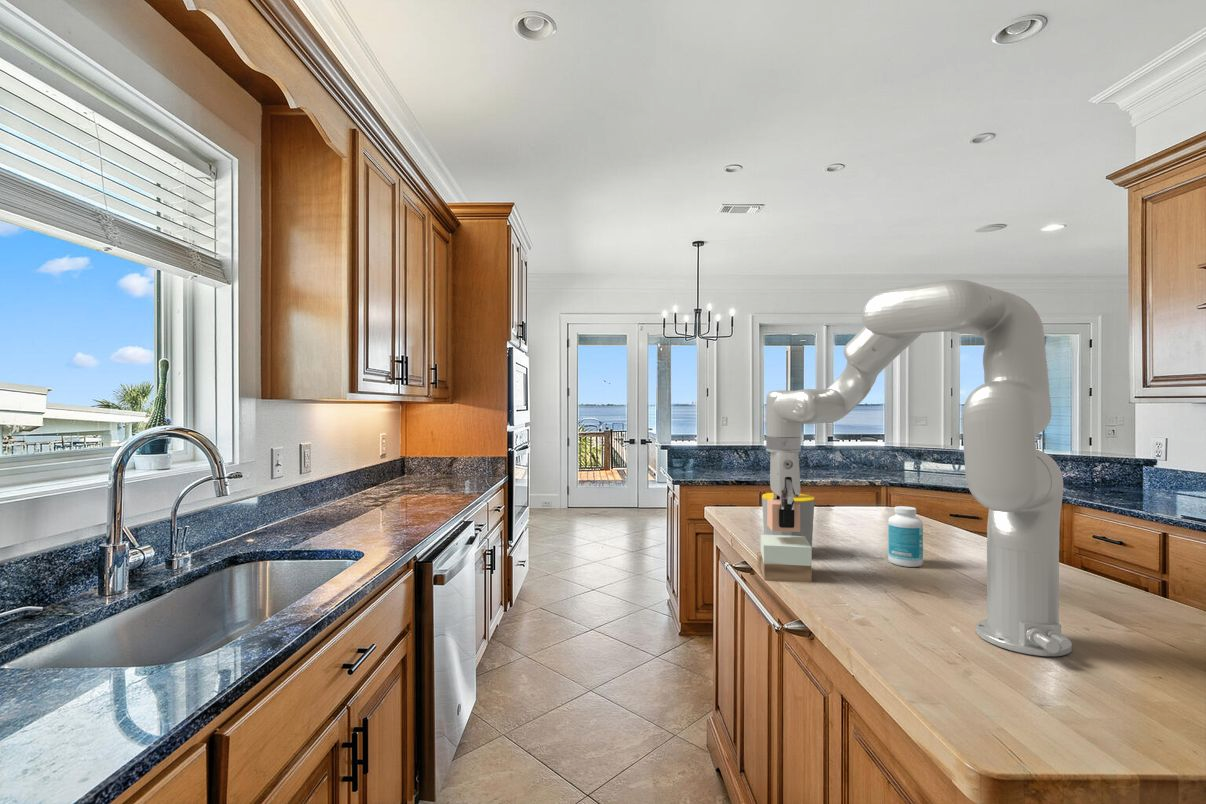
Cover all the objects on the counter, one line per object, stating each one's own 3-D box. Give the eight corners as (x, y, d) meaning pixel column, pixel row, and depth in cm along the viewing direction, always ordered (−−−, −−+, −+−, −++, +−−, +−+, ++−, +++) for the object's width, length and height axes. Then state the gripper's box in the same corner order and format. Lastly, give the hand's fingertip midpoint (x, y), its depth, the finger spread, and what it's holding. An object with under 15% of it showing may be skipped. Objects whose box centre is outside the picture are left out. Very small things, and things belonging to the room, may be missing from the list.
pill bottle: (927, 569, 132) (927, 511, 132) (893, 567, 134) (893, 510, 134) (916, 560, 140) (916, 505, 140) (884, 558, 141) (884, 504, 141)
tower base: (811, 583, 123) (811, 565, 123) (764, 582, 124) (764, 564, 124) (800, 569, 133) (800, 552, 133) (757, 568, 134) (757, 551, 134)
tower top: (811, 565, 123) (811, 547, 123) (763, 563, 125) (763, 545, 125) (804, 553, 132) (804, 536, 132) (760, 551, 135) (760, 534, 134)
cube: (800, 531, 125) (800, 504, 125) (772, 531, 126) (772, 504, 126) (793, 525, 131) (793, 499, 131) (767, 525, 132) (767, 499, 132)
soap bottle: (819, 550, 148) (819, 470, 148) (808, 563, 137) (808, 475, 137) (769, 544, 155) (769, 467, 155) (755, 555, 144) (755, 472, 144)
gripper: (810, 448, 120) (810, 533, 120) (791, 442, 137) (791, 516, 137) (774, 448, 120) (774, 532, 121) (759, 441, 138) (759, 515, 138)
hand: (783, 523), depth 129 cm, fingers closed on cube, 6 cm apart
